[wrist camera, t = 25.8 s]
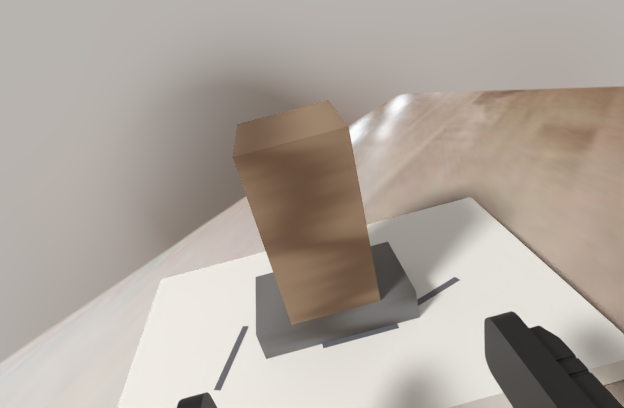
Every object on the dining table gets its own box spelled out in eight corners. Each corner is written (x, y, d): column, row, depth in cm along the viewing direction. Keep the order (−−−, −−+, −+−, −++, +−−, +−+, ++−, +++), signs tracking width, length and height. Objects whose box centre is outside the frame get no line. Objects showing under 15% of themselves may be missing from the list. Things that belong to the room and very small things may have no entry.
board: (470, 212, 32) (470, 196, 31) (640, 375, 18) (646, 353, 17) (168, 292, 32) (160, 278, 31) (99, 522, 18) (83, 506, 17)
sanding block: (391, 265, 26) (364, 90, 21) (419, 317, 22) (394, 114, 16) (264, 299, 26) (200, 133, 20) (266, 358, 22) (186, 169, 16)
